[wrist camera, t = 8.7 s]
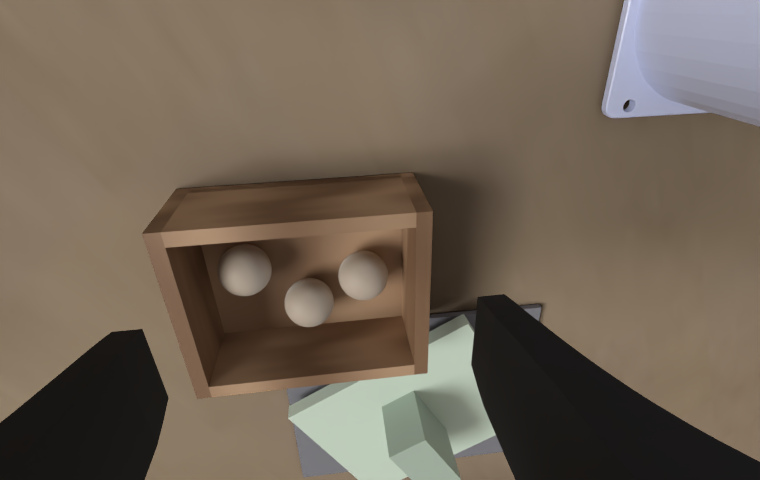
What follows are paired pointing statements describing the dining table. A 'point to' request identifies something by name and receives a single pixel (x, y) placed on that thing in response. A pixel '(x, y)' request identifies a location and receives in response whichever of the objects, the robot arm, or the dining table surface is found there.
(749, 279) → the dining table surface
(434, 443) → the lid
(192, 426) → the dining table surface
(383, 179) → the box
